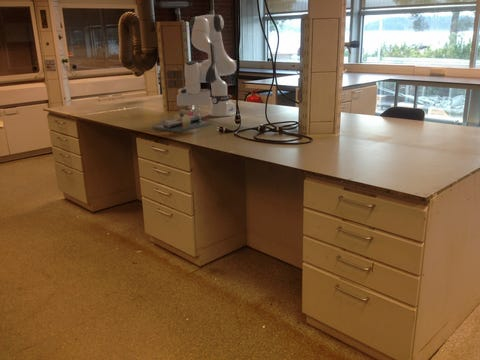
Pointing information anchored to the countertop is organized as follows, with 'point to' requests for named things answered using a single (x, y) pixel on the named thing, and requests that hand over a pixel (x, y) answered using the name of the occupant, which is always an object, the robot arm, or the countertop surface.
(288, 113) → the countertop surface
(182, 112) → the lever
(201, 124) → the valve assembly
